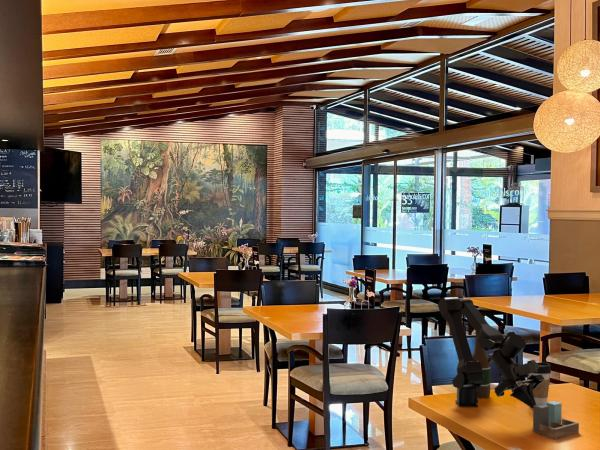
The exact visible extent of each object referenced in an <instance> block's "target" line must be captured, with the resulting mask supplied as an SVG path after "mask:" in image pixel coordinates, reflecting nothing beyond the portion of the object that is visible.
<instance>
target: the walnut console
mask: <svg viewBox="0 0 600 450" xmlns="http://www.w3.org/2000/svg"><path fill="white" fill-rule="evenodd" d="M579 430H580V423H579V422H576V421H573V420H569V419H566V418H561V424H560V423H556V422H553V421H552V422H551V427H548V426H545V425H542V424H540V433H539V435H540V436H543V437H546V438H549V439H553V440H559V439H563V438H566V437H569V436H573V435H577V434H579V432H580V431H579Z"/></svg>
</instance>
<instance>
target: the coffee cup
mask: <svg viewBox="0 0 600 450" xmlns="http://www.w3.org/2000/svg"><path fill="white" fill-rule="evenodd" d="M536 363H537V364H538V365H539V366H538V367H539V368H538V369H537V371H538V372H533V373H530V374H529V376H528V377H527V378H526V379H528V378H529V377H530V376H531V375H533V374H541V375H542V376H543V377H544V379H545V380H544V381H543V382H542V383H541V384H540V385H539V386H537V387H536V388H535V389H533V395H534V399H535V402H536V405H538V404H543V405H547V402H548V397H549V388H550V382H551V373H552V368H551V366H552V365H551V363H548V362H536Z"/></svg>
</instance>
